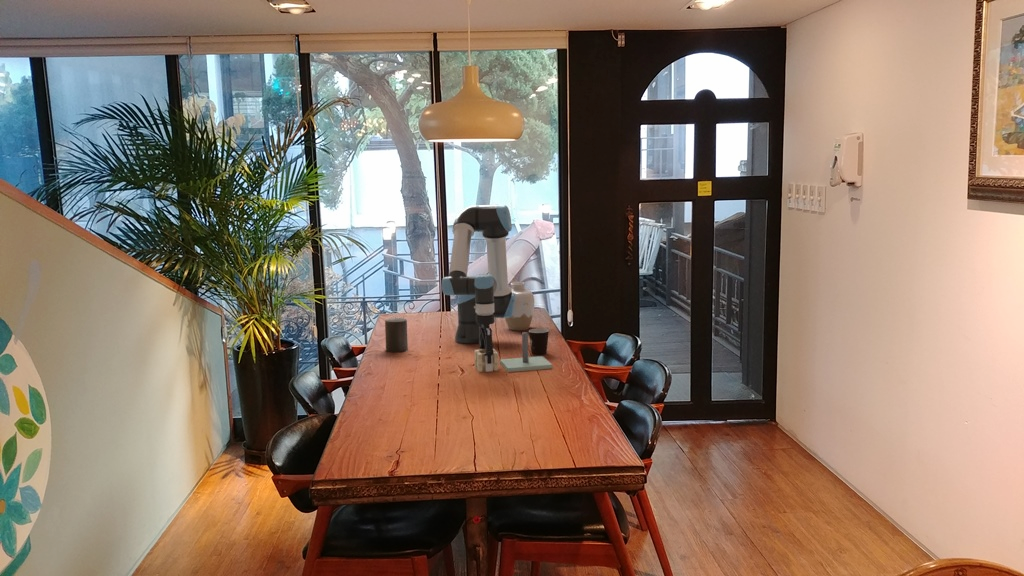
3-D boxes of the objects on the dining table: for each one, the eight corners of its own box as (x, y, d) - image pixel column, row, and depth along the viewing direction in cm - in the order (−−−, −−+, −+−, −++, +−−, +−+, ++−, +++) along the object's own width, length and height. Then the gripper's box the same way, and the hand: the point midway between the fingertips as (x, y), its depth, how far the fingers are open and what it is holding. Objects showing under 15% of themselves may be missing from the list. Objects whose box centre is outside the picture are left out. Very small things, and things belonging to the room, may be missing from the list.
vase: (515, 324, 408) (514, 279, 405) (541, 327, 399) (540, 281, 395) (496, 329, 396) (495, 284, 392) (522, 333, 386) (521, 286, 383)
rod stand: (500, 362, 331) (499, 330, 329) (542, 359, 334) (541, 327, 332) (507, 371, 316) (507, 338, 314) (552, 368, 320) (551, 335, 318)
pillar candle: (393, 353, 352) (392, 319, 350) (381, 349, 359) (380, 316, 357) (412, 349, 358) (411, 316, 356) (400, 346, 366) (399, 314, 363)
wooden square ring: (475, 366, 325) (474, 350, 324) (494, 365, 327) (493, 348, 326) (478, 371, 318) (478, 354, 317) (498, 370, 319) (497, 352, 318)
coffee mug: (547, 356, 340) (547, 333, 338) (527, 355, 342) (526, 332, 340) (551, 349, 351) (551, 327, 350) (532, 349, 353) (531, 327, 351)
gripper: (470, 309, 329) (472, 362, 333) (480, 319, 307) (482, 375, 310) (488, 308, 331) (490, 360, 334) (500, 318, 309) (501, 374, 312)
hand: (486, 367), depth 322 cm, fingers open, 10 cm apart
